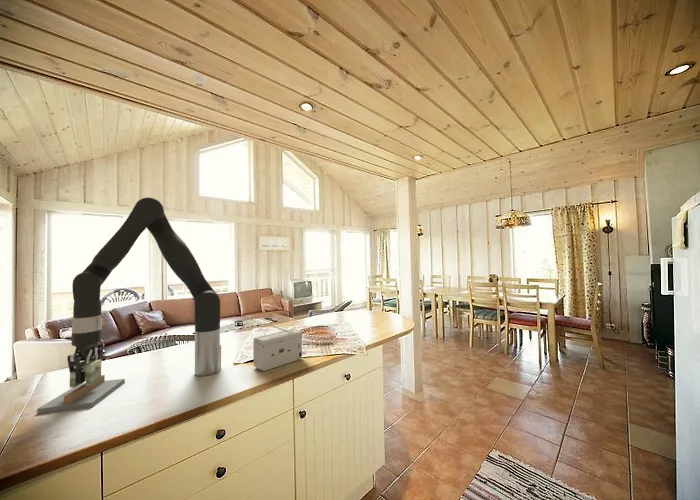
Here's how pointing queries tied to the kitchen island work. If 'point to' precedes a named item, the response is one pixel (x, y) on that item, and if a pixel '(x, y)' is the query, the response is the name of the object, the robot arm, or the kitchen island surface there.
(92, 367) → the sage block
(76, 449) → the kitchen island surface
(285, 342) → the stereo radio cassette player
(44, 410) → the cleat board
